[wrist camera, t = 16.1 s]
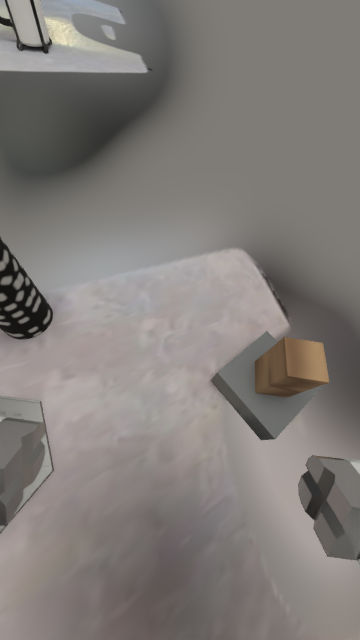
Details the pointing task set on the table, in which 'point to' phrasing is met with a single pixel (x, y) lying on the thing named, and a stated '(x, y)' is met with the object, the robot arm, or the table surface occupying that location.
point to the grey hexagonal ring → (34, 412)
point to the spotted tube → (20, 300)
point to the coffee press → (27, 23)
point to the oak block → (291, 368)
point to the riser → (255, 408)
